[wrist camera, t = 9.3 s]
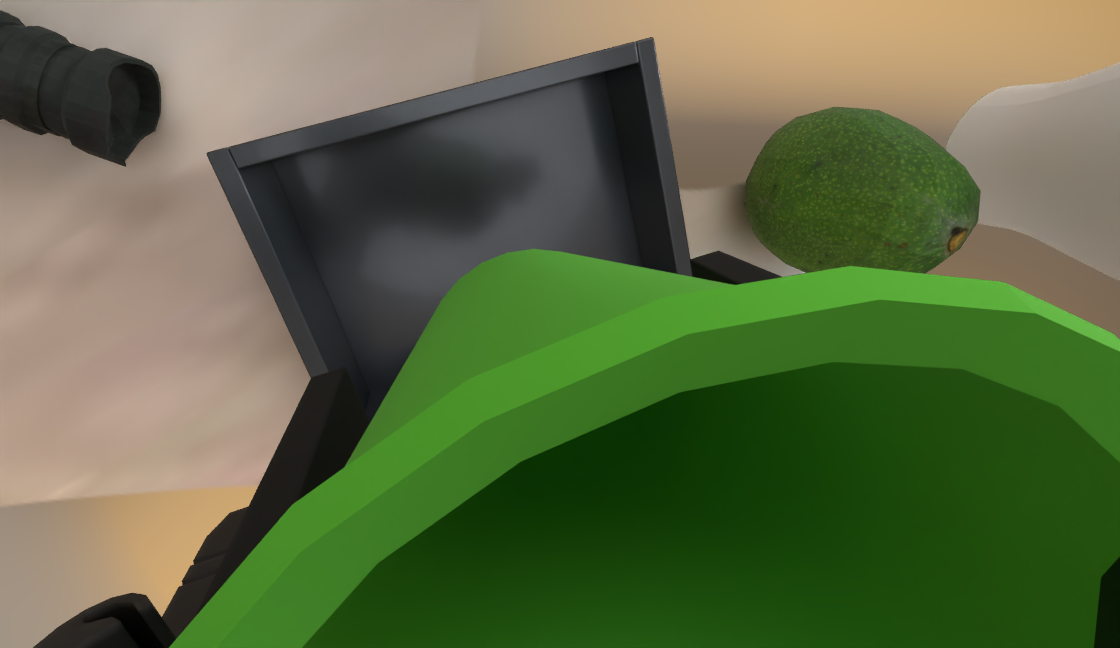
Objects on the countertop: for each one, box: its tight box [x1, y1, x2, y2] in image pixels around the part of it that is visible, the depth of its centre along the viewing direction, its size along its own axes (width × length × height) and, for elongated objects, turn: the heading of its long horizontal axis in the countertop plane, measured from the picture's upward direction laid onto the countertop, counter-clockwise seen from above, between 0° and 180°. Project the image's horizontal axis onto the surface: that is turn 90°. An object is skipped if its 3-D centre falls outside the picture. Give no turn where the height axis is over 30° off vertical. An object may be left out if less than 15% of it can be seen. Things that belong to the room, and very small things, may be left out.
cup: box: [169, 249, 1120, 648], centre depth 9 cm, size 9×9×11 cm
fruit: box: [744, 107, 981, 274], centre depth 26 cm, size 8×8×12 cm
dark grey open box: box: [207, 37, 692, 422], centre depth 26 cm, size 18×14×6 cm
